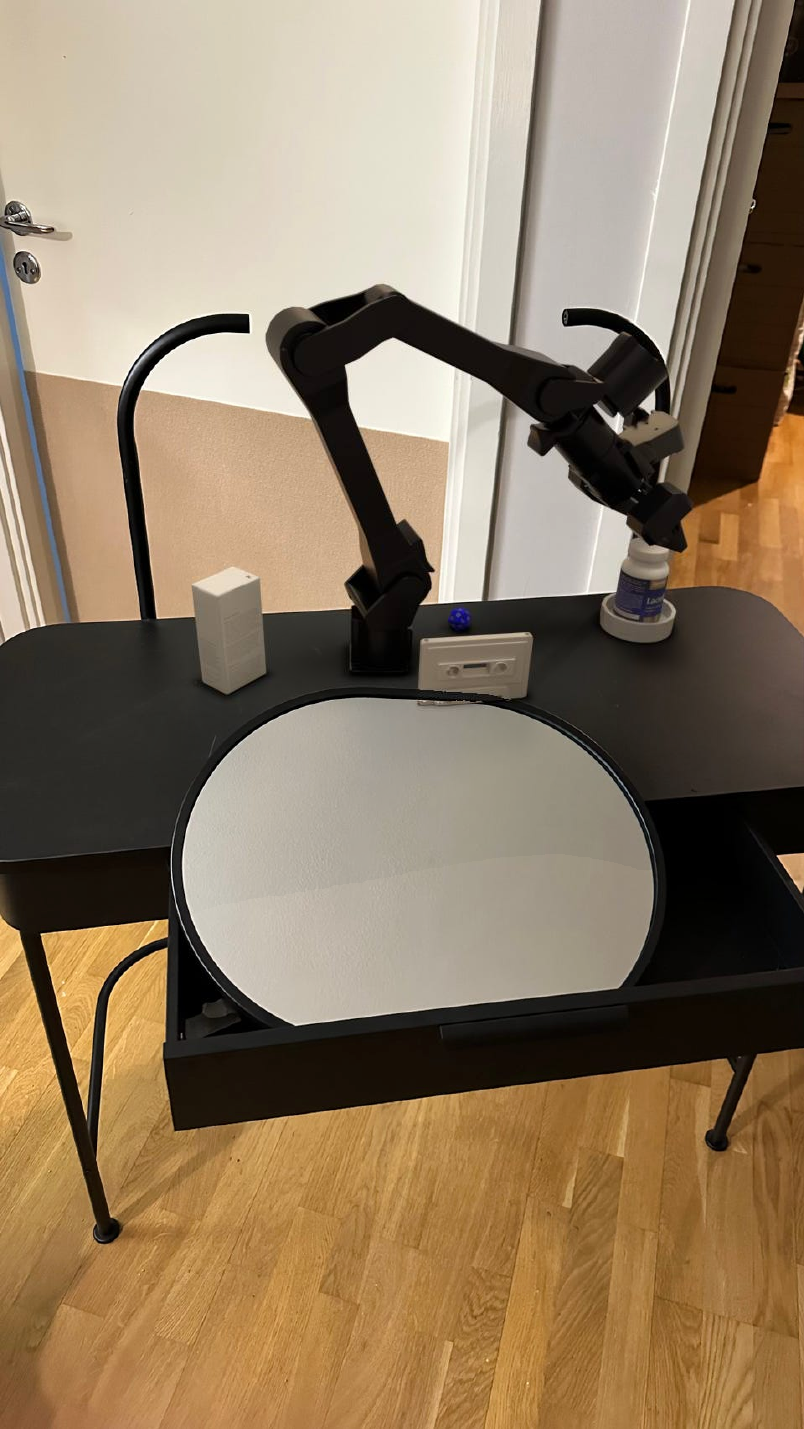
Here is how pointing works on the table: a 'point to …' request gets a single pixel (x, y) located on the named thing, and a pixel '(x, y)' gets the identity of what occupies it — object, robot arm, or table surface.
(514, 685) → the cassette
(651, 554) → the pill bottle
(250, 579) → the cosmetic box
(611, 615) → the dish
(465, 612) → the die
